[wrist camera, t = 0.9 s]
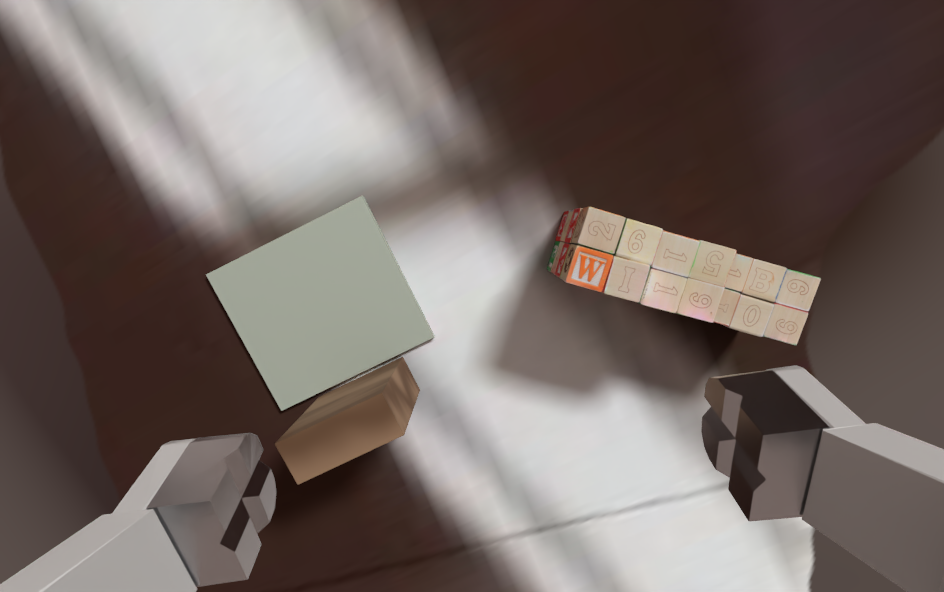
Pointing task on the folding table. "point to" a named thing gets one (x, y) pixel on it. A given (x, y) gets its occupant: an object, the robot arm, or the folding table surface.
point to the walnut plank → (350, 421)
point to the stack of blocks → (681, 274)
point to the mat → (321, 303)
